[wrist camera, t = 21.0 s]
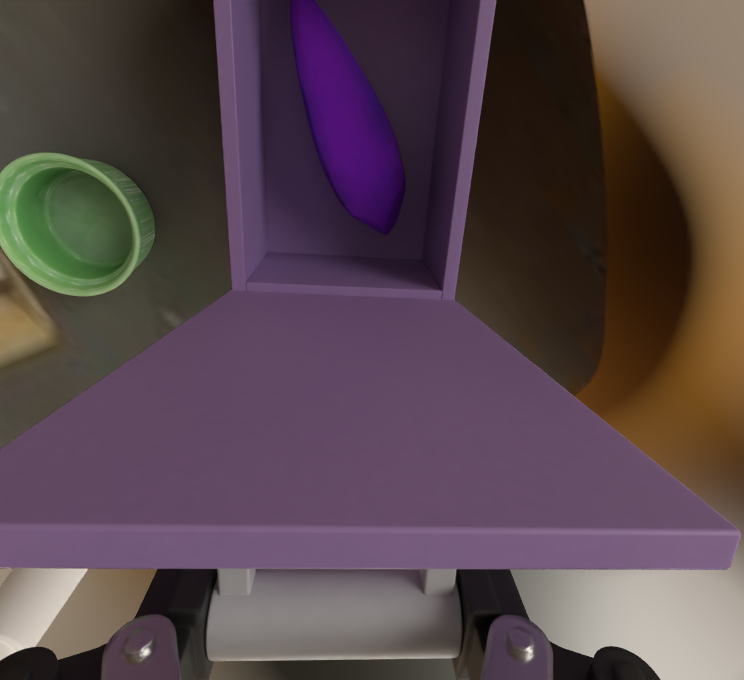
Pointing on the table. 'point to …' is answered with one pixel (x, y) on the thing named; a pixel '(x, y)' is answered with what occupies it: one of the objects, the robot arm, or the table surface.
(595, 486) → the lid
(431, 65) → the file box
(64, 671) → the robot arm
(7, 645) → the cosmetic bottle
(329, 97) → the purple teardrop shape
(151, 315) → the table surface
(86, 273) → the ramekin
